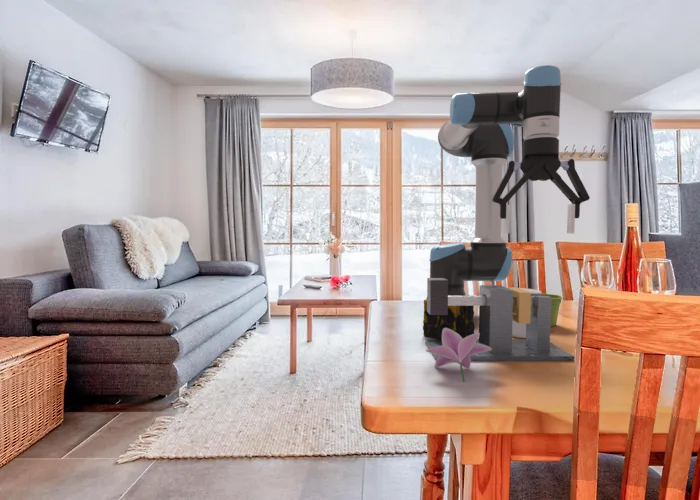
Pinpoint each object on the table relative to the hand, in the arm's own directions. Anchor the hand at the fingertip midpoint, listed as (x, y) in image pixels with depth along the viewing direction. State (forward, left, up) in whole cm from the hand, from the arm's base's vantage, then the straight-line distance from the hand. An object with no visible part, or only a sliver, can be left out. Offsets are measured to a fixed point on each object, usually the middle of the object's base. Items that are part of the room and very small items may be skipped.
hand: (538, 233), depth 96 cm
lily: (+14, -22, -28) cm, 38 cm away
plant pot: (-29, +15, -28) cm, 43 cm away
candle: (-15, -17, -28) cm, 36 cm away
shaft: (-1, -11, -19) cm, 22 cm away
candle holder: (-17, +3, -28) cm, 33 cm away
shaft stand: (-1, -9, -28) cm, 29 cm away
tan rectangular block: (-1, -4, -20) cm, 20 cm away
